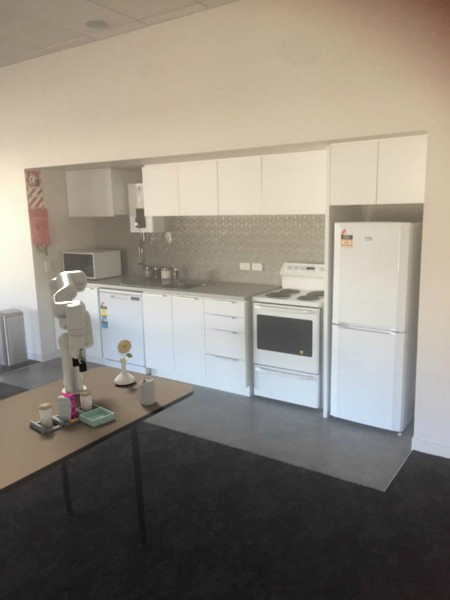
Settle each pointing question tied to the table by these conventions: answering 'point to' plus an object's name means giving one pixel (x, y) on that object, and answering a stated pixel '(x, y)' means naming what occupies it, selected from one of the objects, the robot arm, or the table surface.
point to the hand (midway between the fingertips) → (79, 369)
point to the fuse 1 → (46, 415)
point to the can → (147, 391)
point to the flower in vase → (124, 364)
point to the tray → (97, 417)
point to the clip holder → (58, 422)
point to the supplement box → (66, 407)
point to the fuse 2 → (86, 400)
